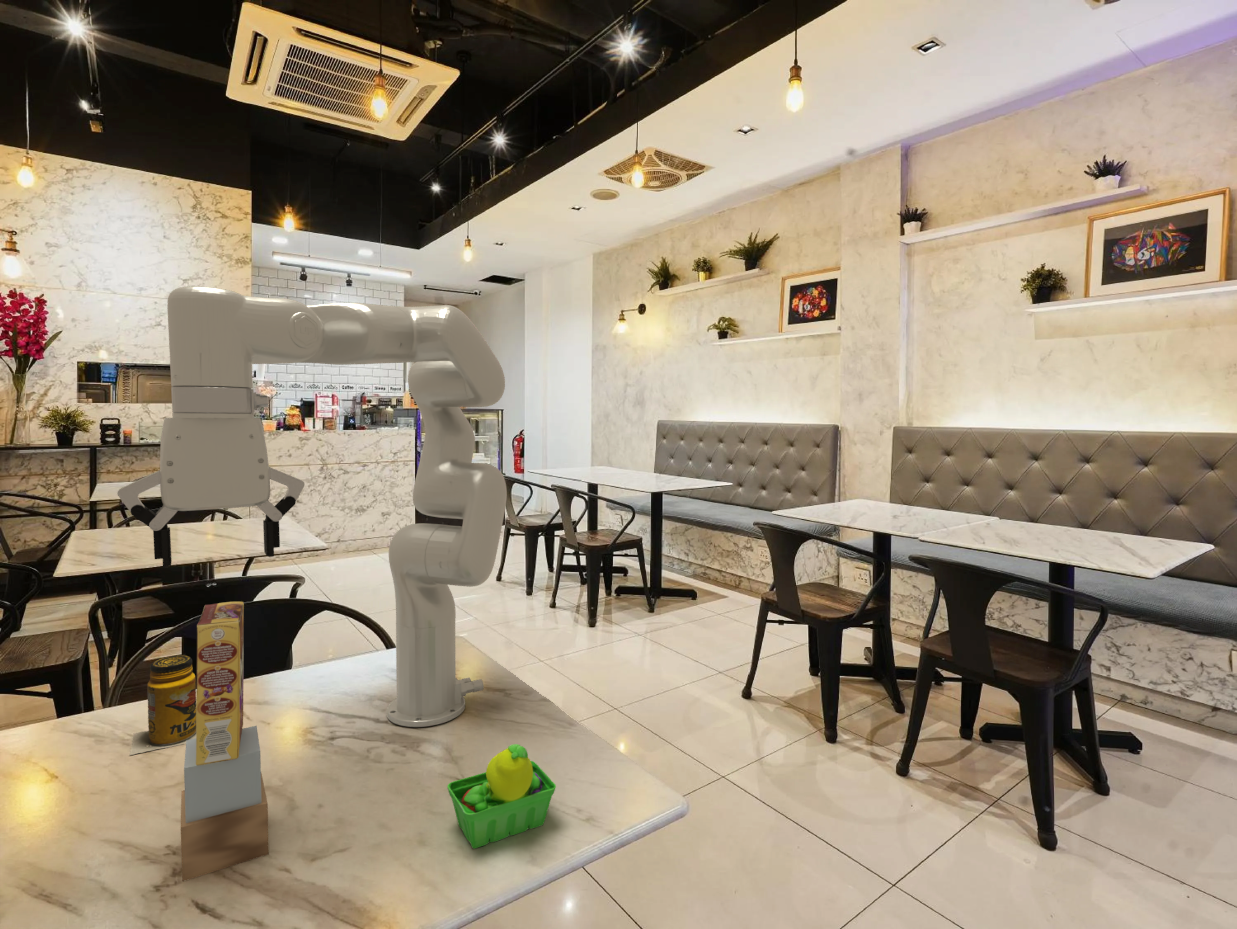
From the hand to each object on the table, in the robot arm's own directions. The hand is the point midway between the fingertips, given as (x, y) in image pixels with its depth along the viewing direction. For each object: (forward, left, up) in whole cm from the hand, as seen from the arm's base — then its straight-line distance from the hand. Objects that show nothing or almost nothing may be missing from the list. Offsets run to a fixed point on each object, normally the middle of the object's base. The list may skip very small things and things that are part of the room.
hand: (220, 559), depth 71 cm
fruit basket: (-28, +14, -33) cm, 45 cm away
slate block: (0, 0, -27) cm, 27 cm away
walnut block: (0, 0, -33) cm, 33 cm away
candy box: (0, 0, -21) cm, 21 cm away
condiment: (+6, -34, -33) cm, 48 cm away
